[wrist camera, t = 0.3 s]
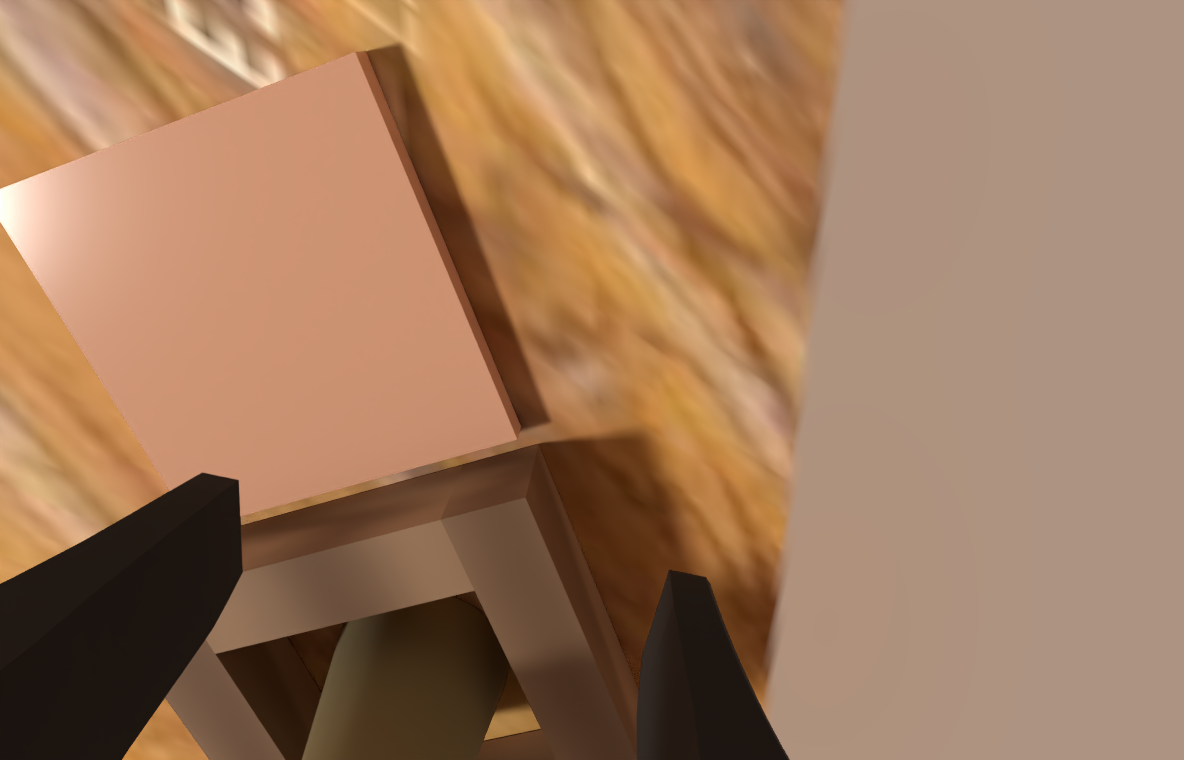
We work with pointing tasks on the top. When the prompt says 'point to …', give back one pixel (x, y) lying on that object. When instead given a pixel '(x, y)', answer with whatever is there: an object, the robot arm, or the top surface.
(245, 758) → the walnut holder
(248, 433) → the terracotta tile
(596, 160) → the top surface
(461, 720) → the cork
